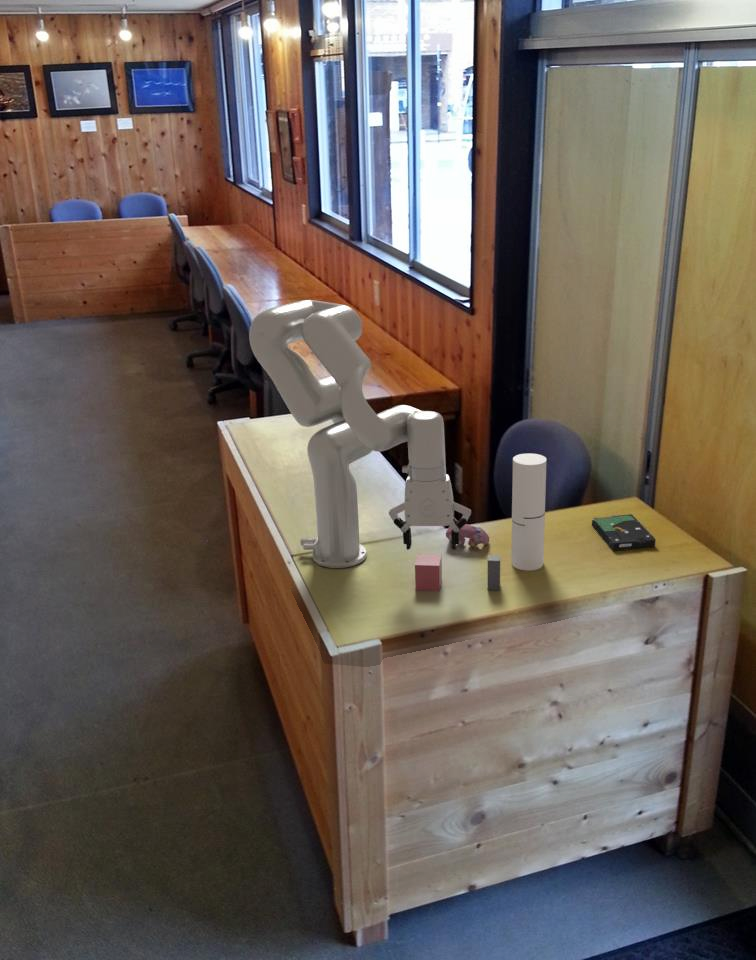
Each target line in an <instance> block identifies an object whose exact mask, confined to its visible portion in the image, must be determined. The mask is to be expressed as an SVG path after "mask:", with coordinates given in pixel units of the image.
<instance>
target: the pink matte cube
mask: <svg viewBox="0 0 756 960" xmlns="http://www.w3.org/2000/svg"><path fill="white" fill-rule="evenodd" d="M442 562H443V561H442V554H426V553H424V554H421V553H420V554H419V553H417V555H416V560H415V562H414V576H415V577H414V581H415V583H414V585H415V587H414V589H415V591H429V592H431V591H433V592H440V590H441V586H442V581H443V577H442V576H443V575H442V574H443V573H442V572H443V570H442V569H443V565H442Z"/></svg>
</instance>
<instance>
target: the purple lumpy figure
mask: <svg viewBox="0 0 756 960" xmlns="http://www.w3.org/2000/svg"><path fill="white" fill-rule="evenodd" d="M451 532H452V529H451V528H450V527H449V526H448V528H447V530H446V532H445V537H446V538H447V539H448V541H451V542H452V539H451ZM466 539H468V542H467V545H468V546H469V547H472V548H476V547H478V546H479V545H480V544H482V545H485V546H487V545H488V544H489V543H490V536H489V534H488V533H487V532H486V531H485V529H483V528H481V527H480V526H479V527H476V526H474V525H471V524H468V523H466V524H465V525H464V526H463V527H462V528H461V529H460V530H459V544H456V546H457V545H458V546H464V545H465V543H466Z"/></svg>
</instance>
